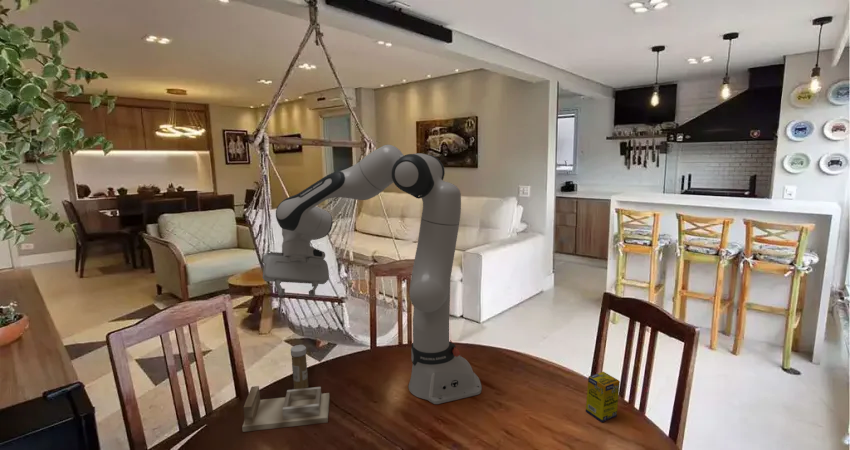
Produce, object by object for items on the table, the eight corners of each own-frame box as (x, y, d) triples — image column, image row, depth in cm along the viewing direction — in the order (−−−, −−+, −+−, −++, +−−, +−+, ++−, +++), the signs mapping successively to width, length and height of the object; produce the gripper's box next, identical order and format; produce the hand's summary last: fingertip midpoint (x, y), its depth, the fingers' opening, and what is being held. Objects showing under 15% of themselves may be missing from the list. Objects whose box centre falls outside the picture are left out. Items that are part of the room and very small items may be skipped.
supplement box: (602, 423, 118) (605, 386, 116) (585, 411, 123) (587, 375, 121) (617, 416, 121) (620, 380, 119) (600, 405, 126) (602, 370, 124)
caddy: (329, 397, 131) (328, 377, 130) (327, 422, 120) (326, 400, 118) (252, 405, 128) (250, 384, 126) (242, 431, 116) (240, 409, 115)
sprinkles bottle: (310, 388, 136) (308, 348, 133) (296, 393, 133) (293, 352, 131) (305, 382, 140) (303, 342, 137) (291, 386, 137) (288, 346, 135)
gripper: (265, 247, 133) (265, 290, 127) (329, 253, 144) (331, 293, 138) (260, 255, 138) (259, 297, 132) (322, 260, 149) (324, 299, 143)
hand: (297, 295), depth 135 cm, fingers open, 8 cm apart
